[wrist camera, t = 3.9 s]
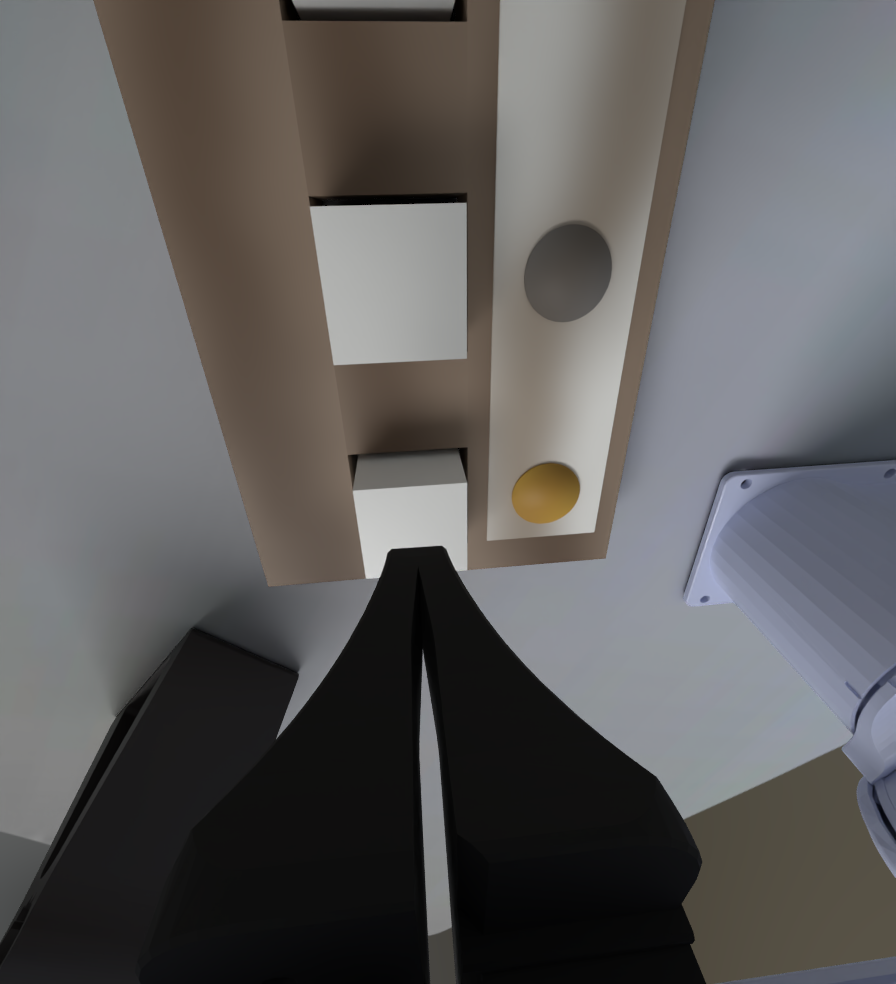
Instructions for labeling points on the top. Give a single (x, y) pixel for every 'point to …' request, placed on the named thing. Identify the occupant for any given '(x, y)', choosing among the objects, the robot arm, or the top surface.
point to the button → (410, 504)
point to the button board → (408, 175)
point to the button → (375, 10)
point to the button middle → (393, 281)
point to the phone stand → (143, 811)
